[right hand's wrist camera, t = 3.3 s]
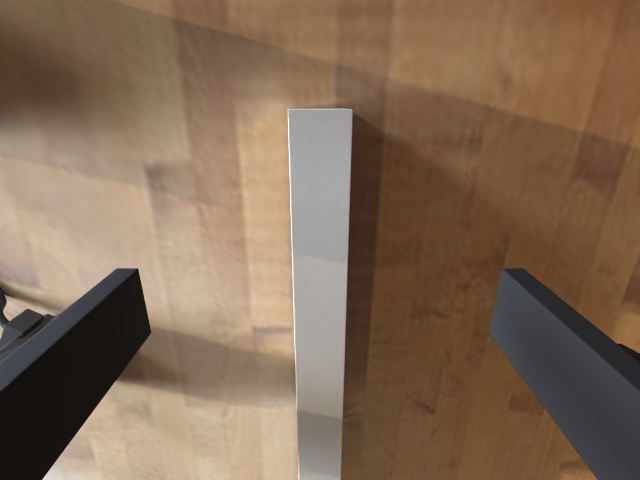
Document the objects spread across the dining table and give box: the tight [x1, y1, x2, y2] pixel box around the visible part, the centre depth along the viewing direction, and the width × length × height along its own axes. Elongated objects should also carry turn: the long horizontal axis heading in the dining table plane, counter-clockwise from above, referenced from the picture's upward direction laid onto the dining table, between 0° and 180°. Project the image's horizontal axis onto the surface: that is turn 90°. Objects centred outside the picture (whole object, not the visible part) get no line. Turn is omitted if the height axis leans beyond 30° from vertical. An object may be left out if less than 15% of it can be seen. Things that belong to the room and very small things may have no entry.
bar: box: [288, 108, 353, 480], centre depth 40 cm, size 52×5×8 cm, turn 0°
